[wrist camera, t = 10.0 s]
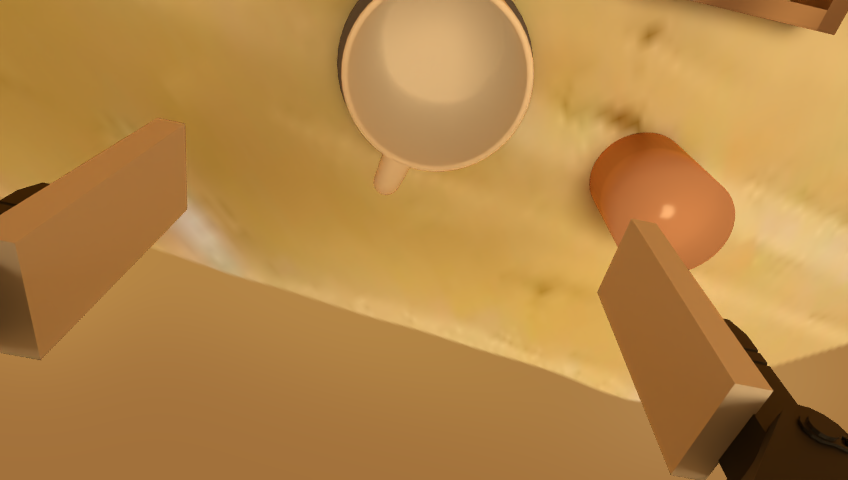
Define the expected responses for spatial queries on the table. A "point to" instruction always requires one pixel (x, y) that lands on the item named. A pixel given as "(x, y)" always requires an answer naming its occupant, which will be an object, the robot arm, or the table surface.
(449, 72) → the mug
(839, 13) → the frame
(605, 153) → the orange rounded cylinder
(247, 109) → the table surface
